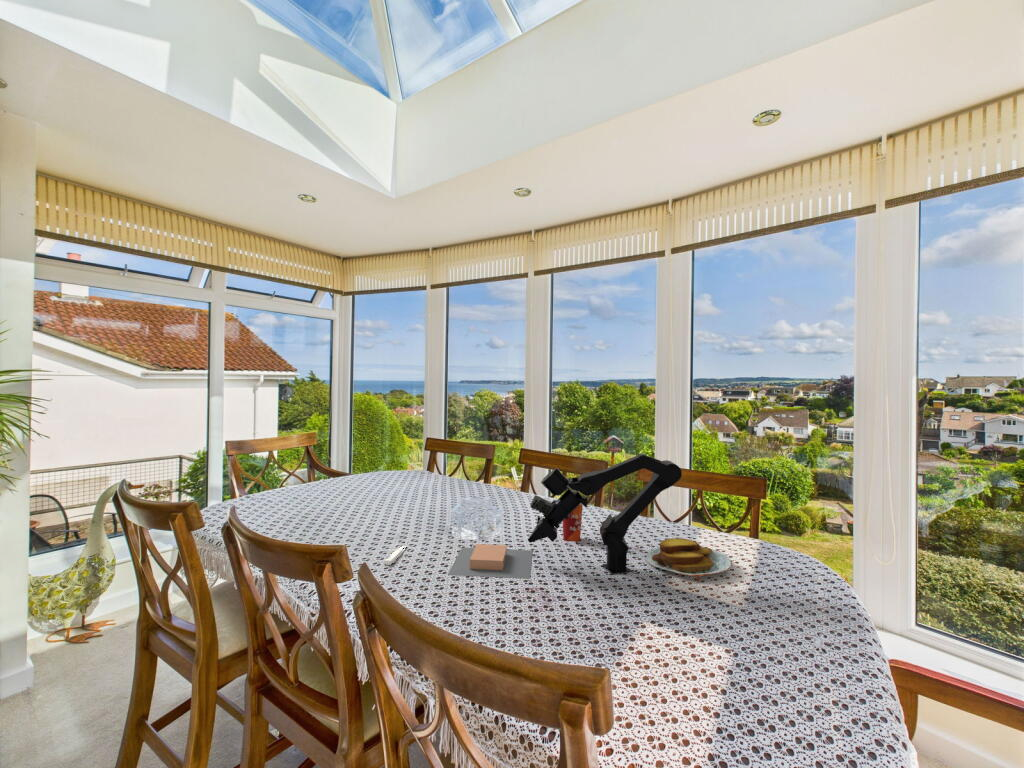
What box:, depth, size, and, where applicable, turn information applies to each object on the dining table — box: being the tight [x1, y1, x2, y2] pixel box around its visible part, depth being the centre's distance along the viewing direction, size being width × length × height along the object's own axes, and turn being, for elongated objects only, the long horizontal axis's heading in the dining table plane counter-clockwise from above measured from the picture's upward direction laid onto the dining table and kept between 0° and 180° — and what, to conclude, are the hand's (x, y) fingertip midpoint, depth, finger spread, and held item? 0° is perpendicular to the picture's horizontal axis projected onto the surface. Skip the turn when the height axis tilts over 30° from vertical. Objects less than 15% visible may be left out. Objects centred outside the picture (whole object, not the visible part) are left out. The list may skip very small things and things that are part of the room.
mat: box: [447, 547, 534, 580], centre depth 141 cm, size 24×22×1 cm
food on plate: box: [645, 537, 733, 582], centre depth 143 cm, size 25×25×7 cm
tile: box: [470, 543, 508, 571], centre depth 142 cm, size 3×13×10 cm
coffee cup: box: [562, 503, 584, 543], centre depth 164 cm, size 8×8×15 cm
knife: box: [382, 545, 409, 566], centre depth 154 cm, size 31×6×2 cm, turn 6°
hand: (528, 541), depth 141 cm, fingers closed
